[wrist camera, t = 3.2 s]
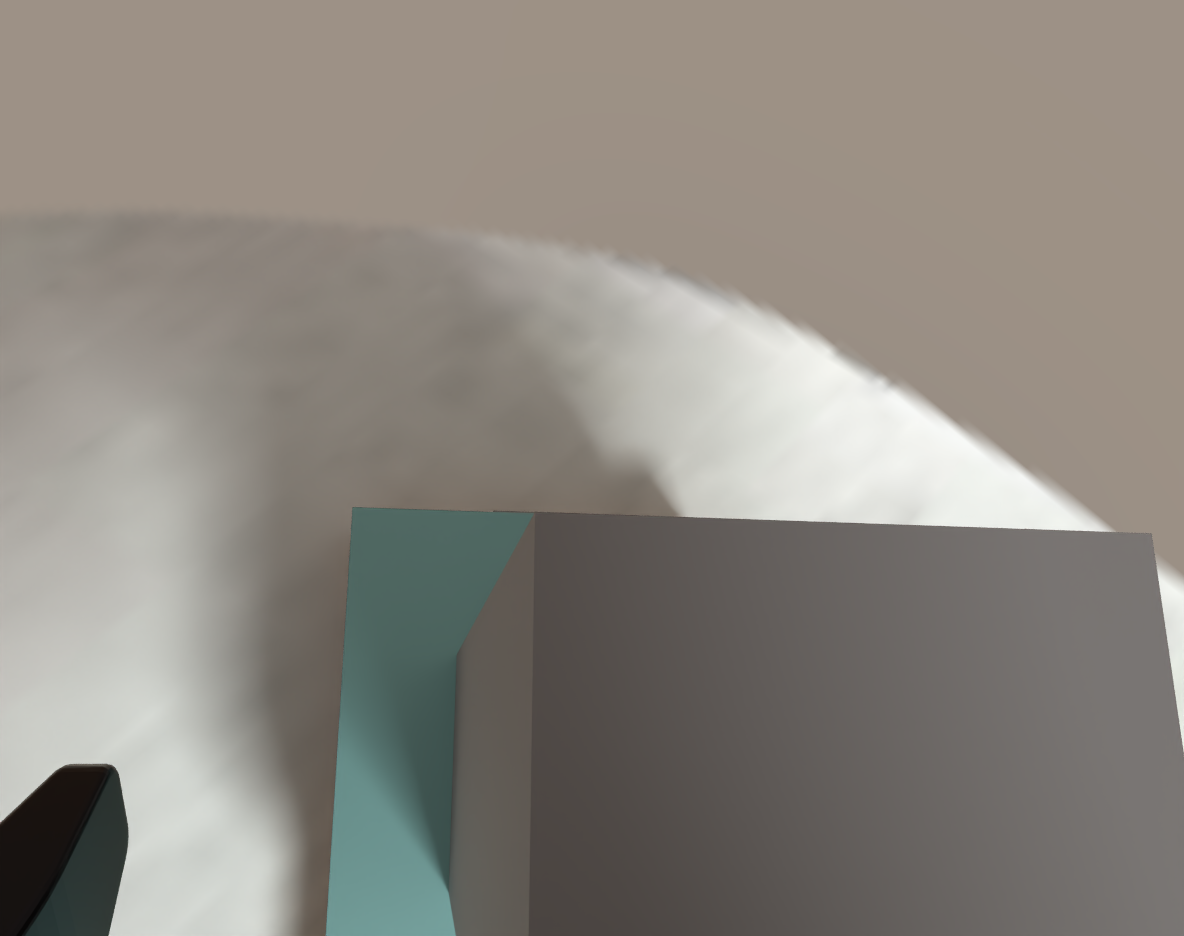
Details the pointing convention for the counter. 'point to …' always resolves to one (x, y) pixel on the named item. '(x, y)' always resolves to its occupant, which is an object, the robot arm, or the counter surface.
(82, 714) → the counter surface
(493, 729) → the carriage
